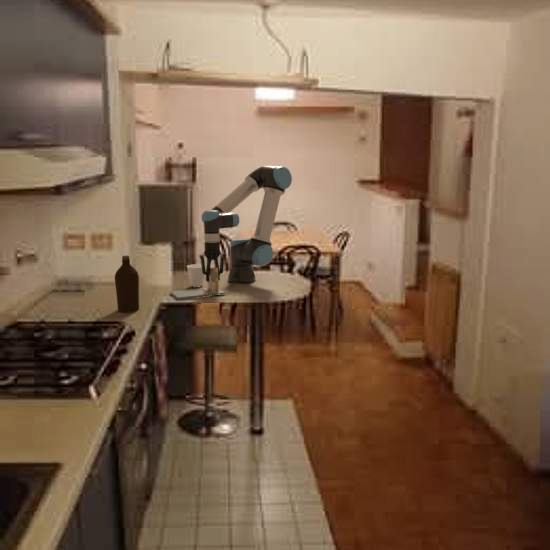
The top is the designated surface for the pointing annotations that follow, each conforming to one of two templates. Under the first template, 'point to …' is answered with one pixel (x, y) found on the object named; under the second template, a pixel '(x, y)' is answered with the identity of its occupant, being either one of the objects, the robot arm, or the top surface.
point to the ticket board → (189, 294)
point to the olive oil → (127, 287)
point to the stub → (213, 282)
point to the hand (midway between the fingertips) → (213, 287)
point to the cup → (195, 275)
